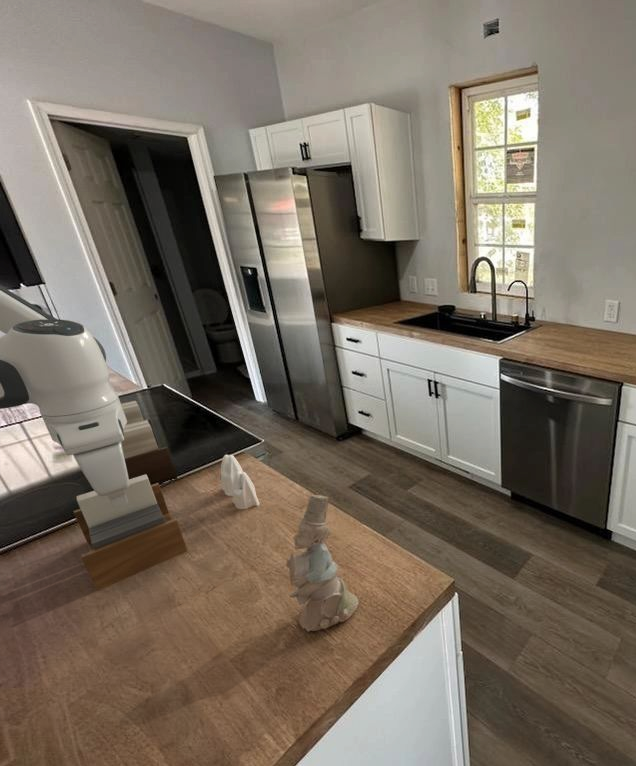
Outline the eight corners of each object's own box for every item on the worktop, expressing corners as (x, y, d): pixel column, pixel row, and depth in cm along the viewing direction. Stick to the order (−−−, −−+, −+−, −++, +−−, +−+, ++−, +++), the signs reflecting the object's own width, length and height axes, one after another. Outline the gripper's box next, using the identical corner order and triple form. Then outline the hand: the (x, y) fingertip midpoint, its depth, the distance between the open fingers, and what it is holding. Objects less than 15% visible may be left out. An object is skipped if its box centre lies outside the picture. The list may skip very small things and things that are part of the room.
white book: (168, 536, 78) (148, 478, 73) (104, 562, 72) (77, 501, 67) (166, 531, 79) (146, 474, 74) (102, 556, 73) (76, 496, 68)
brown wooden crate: (177, 478, 97) (159, 424, 92) (109, 502, 89) (85, 443, 84) (159, 447, 110) (142, 397, 105) (97, 464, 102) (76, 412, 97)
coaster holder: (189, 557, 75) (175, 515, 72) (100, 597, 67) (79, 552, 63) (170, 516, 85) (156, 478, 82) (90, 547, 77) (71, 506, 73)
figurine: (345, 580, 71) (329, 483, 64) (365, 612, 65) (350, 510, 58) (289, 609, 66) (264, 506, 58) (306, 647, 60) (281, 539, 52)
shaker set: (222, 494, 92) (210, 452, 88) (243, 486, 95) (232, 444, 91) (241, 519, 85) (228, 473, 81) (263, 509, 88) (252, 465, 84)
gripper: (56, 407, 70) (85, 476, 75) (63, 450, 58) (98, 529, 63) (106, 397, 75) (130, 462, 80) (123, 434, 62) (151, 509, 67)
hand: (116, 492), depth 71 cm, fingers open, 8 cm apart
